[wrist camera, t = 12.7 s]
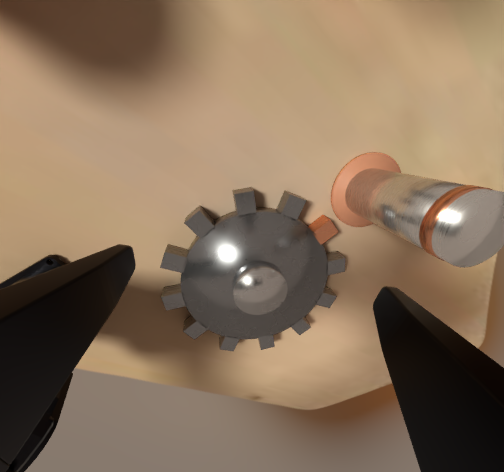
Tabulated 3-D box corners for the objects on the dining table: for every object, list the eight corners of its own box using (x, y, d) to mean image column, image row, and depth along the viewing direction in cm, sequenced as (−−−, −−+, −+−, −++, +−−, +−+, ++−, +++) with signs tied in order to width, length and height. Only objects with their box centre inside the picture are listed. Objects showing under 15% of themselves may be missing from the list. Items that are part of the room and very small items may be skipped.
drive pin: (362, 223, 23) (463, 280, 14) (335, 195, 21) (429, 239, 12) (397, 188, 22) (530, 225, 13) (372, 156, 20) (504, 172, 11)
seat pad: (343, 237, 23) (345, 238, 23) (320, 177, 20) (322, 177, 20) (405, 203, 23) (407, 204, 23) (391, 137, 20) (393, 137, 20)
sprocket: (209, 360, 27) (209, 385, 24) (124, 232, 19) (109, 248, 17) (348, 305, 27) (364, 323, 24) (318, 156, 20) (335, 159, 17)
